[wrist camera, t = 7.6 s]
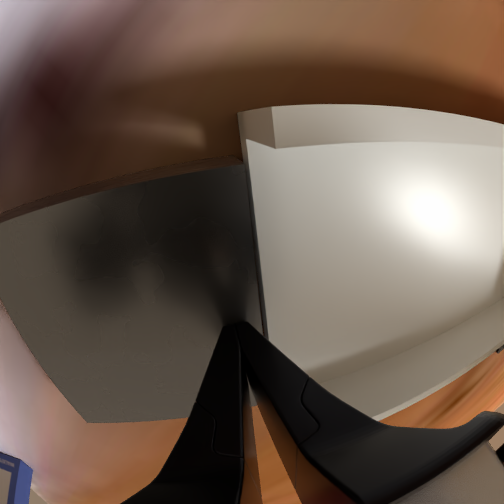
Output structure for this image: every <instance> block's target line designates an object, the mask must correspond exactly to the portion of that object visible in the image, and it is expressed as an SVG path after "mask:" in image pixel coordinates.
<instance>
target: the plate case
mask: <svg viewBox="0 0 504 504" xmlns="http://www.w3.org/2000/svg"><path fill="white" fill-rule="evenodd" d="M237 116H238V124H239V132H240V140H241V148H242V156H243V163H244V164H245V173H246V183H247V192H248V201H249V210H250V219H251V229H252V237H253V245H254V253H255V261H256V269H257V278H258V286H259V294H260V302H261V311H262V319H263V327H264V335H265V337H266V338H267V339H268V340H269V341H270V342H271V343H272V344H273V345H274V346H276V347H277V348H278V349H279V350H280V351H281V352H282V353H283V354H285V355H286V356H287V357H288V358H289V359H290V360H291V361H293V362H294V363H295V364H296V365H297V366H298V367H299V368H301V369H302V370H303V371H304V372H305V373H306V374H308V375H309V377H311V378H312V379H314V380H315V381H316V382H317V383H318V384H320V385H321V386H322V387H323V388H325V389H326V390H327V391H329V392H330V393H332V394H333V395H335V396H336V397H338V398H339V399H341V400H342V401H344V402H345V403H347V404H349V405H350V406H352V407H354V408H355V409H357V410H359V411H360V412H362V413H364V414H366V415H367V416H369V417H371V418H373V419H374V420H376V421H379V420H382V419H384V418H386V417H388V416H390V415H392V414H394V413H396V412H398V411H401V410H403V409H404V408H406V407H408V406H410V405H412V404H414V403H416V402H418V401H420V400H422V399H423V398H425V397H427V396H429V395H430V394H432V393H434V392H436V391H437V390H439V389H441V388H442V387H444V386H446V385H447V384H449V383H450V382H452V381H454V380H455V379H457V378H458V377H460V376H461V375H463V374H464V373H466V372H467V371H469V370H470V369H472V368H473V367H474V366H476V365H477V364H479V363H480V362H481V361H483V360H484V359H485V358H487V357H488V356H489V355H491V354H492V353H493V352H495V351H496V350H497V349H498V348H500V347H501V346H502V345H503V344H504V124H500V123H496V122H492V121H487V120H483V119H478V118H473V117H468V116H463V115H457V114H451V113H445V112H439V111H431V110H424V109H415V108H405V107H394V106H379V105H356V104H313V105H289V106H274V107H266V108H260V109H254V110H248V111H242V112H237Z"/></svg>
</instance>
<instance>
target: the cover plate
mask: <svg viewBox="0 0 504 504" xmlns="http://www.w3.org/2000/svg"><path fill="white" fill-rule="evenodd" d="M0 298H1V300H2V302H3V304H4V306H5V308H6V310H7V312H8V314H9V315H10V317H11V319H12V321H13V323H14V324H15V326H16V328H17V329H18V331H19V333H20V334H21V336H22V338H23V339H24V341H25V343H26V344H27V346H28V347H29V349H30V350H31V352H32V353H33V355H34V356H35V358H36V359H37V361H38V362H39V364H40V365H41V366H42V368H43V369H44V371H45V372H46V373H47V375H48V376H49V377H50V379H51V380H52V381H53V383H54V384H55V385H56V387H57V388H58V389H59V390H60V392H61V393H62V394H63V395H64V397H65V398H66V399H67V400H68V401H69V403H70V404H71V405H72V406H73V407H74V408H75V410H76V411H77V412H78V413H79V414H80V415H81V416H82V417H83V419H84V420H85V421H86V422H87V423H119V422H142V421H156V420H167V419H177V418H186V417H189V415H190V413H191V410H192V408H193V405H194V403H195V400H196V397H197V394H198V392H199V389H200V386H201V383H202V381H203V378H204V375H205V373H206V370H207V367H208V364H209V362H210V359H211V356H212V353H213V351H214V348H215V345H216V343H217V340H218V337H219V334H220V332H221V329H222V327H223V326H225V325H230V324H234V325H235V326H236V324H237V323H240V322H245V321H248V322H249V323H250V324H251V325H252V326H253V327H255V328H256V329H257V330H258V331H259V332H260V333H261V334H262V335H263V331H262V322H261V313H260V303H259V294H258V284H257V275H256V266H255V256H254V247H253V238H252V229H251V219H250V210H249V201H248V192H247V183H246V173H245V164H244V163H243V162H241V161H240V160H239V159H238V158H236V157H235V156H234V155H228V156H221V157H215V158H208V159H202V160H196V161H191V162H185V163H180V164H174V165H169V166H164V167H159V168H154V169H150V170H145V171H140V172H136V173H132V174H127V175H123V176H119V177H115V178H111V179H107V180H103V181H99V182H96V183H92V184H88V185H85V186H81V187H78V188H74V189H71V190H68V191H64V192H61V193H58V194H55V195H51V196H48V197H45V198H42V199H39V200H36V201H33V202H31V203H28V204H25V205H22V206H19V207H17V208H14V209H11V210H9V211H6V212H3V213H1V214H0ZM247 379H248V378H247ZM248 384H249V382H248ZM249 390H250V399H251V407H252V406H257V403H256V400H255V398H254V395H253V393H252V391H251V388H250V385H249Z"/></svg>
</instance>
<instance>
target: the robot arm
mask: <svg viewBox="0 0 504 504" xmlns="http://www.w3.org/2000/svg"><path fill="white" fill-rule="evenodd" d="M503 349H504V344H503V345H502V346H501V347H500V348H498V349H497V350H496V352H497V353H499V352H500V351H502V350H503ZM247 378H248V379H247ZM248 382H249V384H248ZM249 385H250V388H251V391H252V393H253V395H254V398H255V400H256V403H257V405H258V408H259V410H260V412H261V415H262V417H263V419H264V422H265V424H266V426H267V429H268V431H269V433H270V436H271V438H272V440H273V442H274V445H275V447H276V449H277V451H278V454H279V456H280V458H281V460H282V462H283V465H284V467H285V469H286V471H287V473H288V475H289V478H290V480H291V482H292V484H293V486H294V488H295V489H296V492H297V494H298V496H299V499H300V501H301V503H302V504H504V444H503V445H502V446H500V447H499V448H498V449H497V450H496V451H495V450H494V449H493V447H492V446H491V445H490V443H489V442H488V441H489V440H490V439H491V438H492V437H493V436H494V435H495V434H496V433H497V432H498V431H499V429H501V428H502V427H503V425H504V414H501V413H497V412H490V411H484V412H481V413H480V414H478V415H477V416H476V417H474V418H473V419H472V420H471V421H469V422H468V423H466V424H464V425H462V426H459V427H455V428H449V429H429V428H410V427H396V426H390V425H386V424H383V423H381V422H378V421H376V420H374V419H373V418H371V417H369V416H367V415H366V414H364V413H362V412H360V411H359V410H357V409H355V408H354V407H352V406H350V405H349V404H347V403H345V402H344V401H342V400H341V399H339V398H338V397H336V396H335V395H333V394H332V393H330V392H329V391H327V390H326V389H325V388H323V387H322V386H321V385H320V384H318V383H317V382H316V381H315V380H314V379H312V378H311V377H309V375H308V374H306V373H305V372H304V371H303V370H302V369H301V368H299V367H298V366H297V365H296V364H295V363H294V362H293V361H291V360H290V359H289V358H288V357H287V356H286V355H285V354H283V353H282V352H281V351H280V350H279V349H278V348H277V347H276V346H274V345H273V344H272V343H271V342H270V341H269V340H268V339H267V338H266V337H264V336H263V335H262V334H261V333H260V332H259V331H258V330H257V329H256V328H255V327H253V326H252V325H251V324H250V323H249V322H248V321H245V322H240V323H237V324H236V326H235V325H234V324H230V325H225V326H223V327H222V329H221V332H220V334H219V337H218V340H217V343H216V345H215V348H214V351H213V353H212V356H211V359H210V362H209V364H208V367H207V370H206V373H205V375H204V378H203V381H202V383H201V386H200V389H199V392H198V394H197V397H196V400H195V403H194V405H193V408H192V410H191V413H190V415H189V418H188V420H187V423H186V425H185V427H184V429H183V431H182V433H181V435H180V437H179V439H178V441H177V443H176V444H175V446H174V448H173V450H172V452H171V453H170V455H169V457H168V459H167V461H166V462H165V464H164V466H163V468H162V469H161V471H160V473H159V474H158V475H157V477H156V478H155V479H154V480H153V481H152V482H151V483H150V484H149V485H147V486H146V487H144V488H143V489H142V490H140V491H139V492H137V493H136V494H134V495H133V496H131V497H130V498H128V499H127V500H125V501H124V502H122V503H121V504H263V503H262V498H261V497H262V495H261V487H260V479H259V471H258V462H257V454H256V445H255V436H254V427H253V418H252V409H251V399H250V390H249Z"/></svg>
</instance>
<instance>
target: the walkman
mask: <svg viewBox="0 0 504 504" xmlns="http://www.w3.org/2000/svg"><path fill="white" fill-rule="evenodd" d="M32 473H33V470H32V469H31V468H30V467H29V466H27V465H26V464H25V463H24V462H23V461H21V460H20V459H17V458H14V457H11V456H8V455H5V454H3V453H0V504H29V495H30V487H31V479H32Z"/></svg>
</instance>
